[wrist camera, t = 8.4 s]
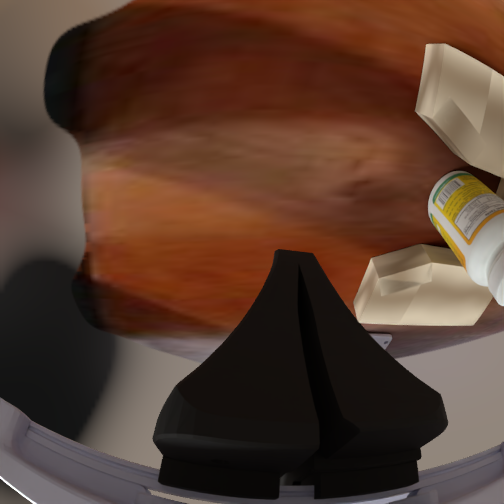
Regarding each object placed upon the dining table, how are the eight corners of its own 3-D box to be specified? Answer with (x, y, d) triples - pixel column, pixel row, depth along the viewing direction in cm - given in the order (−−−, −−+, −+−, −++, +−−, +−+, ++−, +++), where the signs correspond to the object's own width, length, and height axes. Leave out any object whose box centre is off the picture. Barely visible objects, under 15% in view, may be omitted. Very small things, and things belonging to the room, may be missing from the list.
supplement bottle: (430, 168, 18) (508, 244, 10) (483, 169, 17) (561, 237, 9) (421, 232, 21) (475, 321, 13) (471, 228, 20) (530, 306, 12)
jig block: (464, 308, 25) (473, 326, 23) (353, 302, 25) (358, 324, 23) (546, 115, 12) (566, 125, 10) (426, 44, 13) (446, 43, 10)
